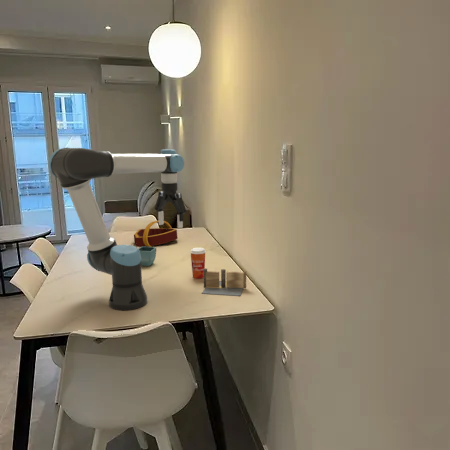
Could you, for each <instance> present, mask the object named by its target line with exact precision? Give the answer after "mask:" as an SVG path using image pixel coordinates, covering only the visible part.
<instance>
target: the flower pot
mask: <svg viewBox="0 0 450 450" xmlns="http://www.w3.org/2000/svg"><path fill="white" fill-rule="evenodd" d="M138 249H139V250H140V255H141V267H143V266H144V267H150V266H151V265H152V264H154V262H155V260H156V256H157V247H155V246H153V247H147V246H146V247H138Z"/></svg>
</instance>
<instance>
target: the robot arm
mask: <svg viewBox="0 0 450 450" xmlns="http://www.w3.org/2000/svg"><path fill="white" fill-rule="evenodd" d="M47 165H48V169H49V172H50V173H51V175H53V176H54V178H56V179H57V180H58V182H59V184H60V186H61V188H62V189H65V190H66V191H67V192H68V195H69V197H70V199H71V202H72V205H73V206H74V209H75V212H76V214H77V217H78V219H79V221H80V224H81V226H82V229H83V232H84V234H85V236H86V238H87V241H88V244H87V247H86V248H87V254H86V259H87V262H88V264H89V265H90V267H92V268H93V269H94V270H96V271H98V272H101V273H104V274H108V275H110V276H111V278H112V279H111V280H112V283H111V285H112V288H111V292H110V294H109V299H108V303H109V305H108V306H109V307H110V308H111V309H112V310H118V311H131V310H136V309H139V308H142V307H144V306H146V304H147V303H148V296H147V292H146V291H145V290H146V289H145V288H144V285H143V279H142V277H143V276H142V266H141V255H140V250H139V247H136V245H131V244H117V241H116V238H115V237H114V236H112V235H110V234H109V230H108V228H107V225H106V223H105V221H104V218H103V215H102V213H101V210H100V208H99V205H98V202H97V200H96V196H95V193H94V191H93V189H92V185H91V184H90V183H91V181H92V180H93V179H94V180H95V179H100V178H109V177H111V176H112V175H120V174H121V175H123V174H125V175H126V174H145V173H146V174H147V173H160V179H161V182H162V183H161V191H158V193H157V195H158V196H157V200H156V203H155V205H154V210H155V211H157V218H158V220H159V223H158V225H159V226H162V225H163V224H164V221H165V220H164V219H165V218H164V215H165V213H164V208H165V207H166V205H167V203H168V202H169V203H171V204H172V205H173V207H174V209H175V210H176V212H177V216H176V217H177V218H176V219H177V221H176V222H177V223H176V224H177V229H183V227H184V225H183V224H184V214H187V209H186V206H185V203H184V201H183V196H182V193H177V191H178V183H177V181H178V173H179V172H181V171H182V170H183V169H184V168H185V160H184V157H183V156H182V155H180V154H177V150H175V149H160V153H111V152H110V151H108V150H97V149H96V150H95V149H90V148H83V147H63V148H58V149H56V150H54V151H53V152H52V153H51V154H50V156H49V158H48V163H47Z"/></svg>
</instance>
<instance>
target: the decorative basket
mask: <svg viewBox="0 0 450 450" xmlns="http://www.w3.org/2000/svg"><path fill="white" fill-rule="evenodd" d="M156 223H157V224H159V219H158V220H155V221H151V222H149V223H148V224H147V225H146V227H145V228H141V229H140V228H139V229H138V230H137V231H136V232H134V234H133V240H134V241H133V242H134V245H135V247H137V248H140V247H152V246H153V247H155V246H158V245H162V244H166V243H170V242H172V241H175V240H177V239H178V228H172V225H170V223H169V222H168V221H166V220H164V224H162V225H164V227H165V228H163V227H158V228H155V227H154V228H153V225H154V224H156Z"/></svg>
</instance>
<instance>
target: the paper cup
mask: <svg viewBox="0 0 450 450" xmlns="http://www.w3.org/2000/svg"><path fill="white" fill-rule="evenodd" d="M189 253H190V261H191V273H192V278H193V279H196V280H200V279H204V269H205V267H206V266H205V264H206V253H207V251H206V249H205V248H203V247H193V248H191V249H190V252H189Z"/></svg>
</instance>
